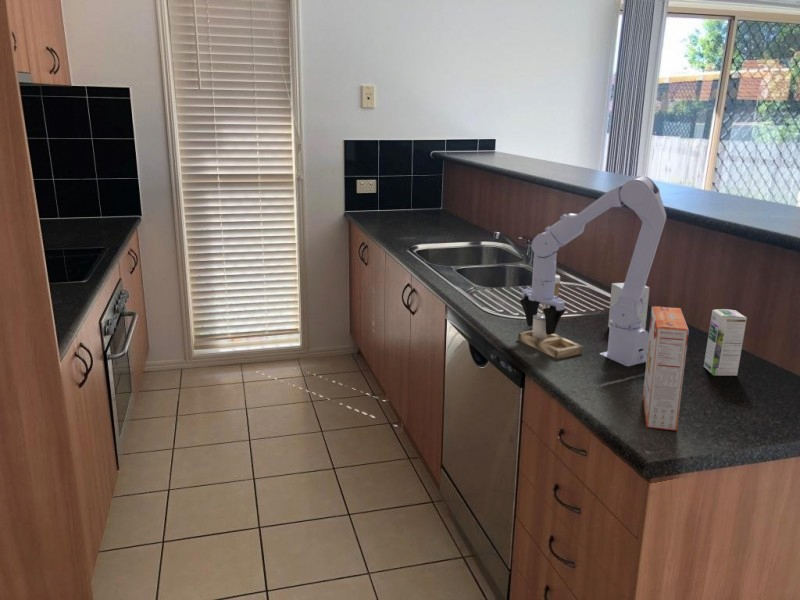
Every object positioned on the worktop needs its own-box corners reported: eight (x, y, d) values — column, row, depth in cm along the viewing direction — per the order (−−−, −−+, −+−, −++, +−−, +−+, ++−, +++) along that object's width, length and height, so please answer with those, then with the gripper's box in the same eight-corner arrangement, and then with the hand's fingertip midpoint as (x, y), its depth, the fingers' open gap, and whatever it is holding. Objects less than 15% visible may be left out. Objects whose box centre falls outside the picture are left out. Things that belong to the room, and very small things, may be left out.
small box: (633, 325, 186) (638, 281, 183) (645, 333, 180) (650, 287, 177) (607, 327, 185) (611, 282, 181) (617, 334, 179) (622, 288, 175)
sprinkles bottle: (554, 323, 188) (557, 278, 184) (539, 321, 190) (542, 276, 187) (559, 319, 192) (562, 274, 188) (544, 316, 194) (546, 272, 190)
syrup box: (702, 366, 157) (710, 308, 153) (727, 366, 157) (736, 309, 153) (712, 376, 152) (721, 316, 147) (738, 376, 151) (748, 316, 147)
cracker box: (640, 398, 140) (650, 304, 134) (670, 402, 138) (682, 307, 132) (643, 428, 127) (655, 325, 121) (677, 432, 125) (691, 328, 119)
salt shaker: (550, 343, 171) (552, 317, 169) (538, 345, 169) (540, 319, 167) (540, 338, 174) (542, 313, 172) (528, 340, 173) (529, 315, 171)
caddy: (582, 355, 164) (582, 346, 163) (557, 361, 160) (558, 351, 160) (541, 337, 177) (542, 328, 176) (517, 341, 174) (518, 332, 173)
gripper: (513, 274, 171) (511, 324, 175) (550, 287, 159) (546, 340, 163) (534, 271, 174) (532, 320, 178) (572, 284, 162) (568, 335, 166)
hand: (540, 329), depth 171 cm, fingers open, 7 cm apart
